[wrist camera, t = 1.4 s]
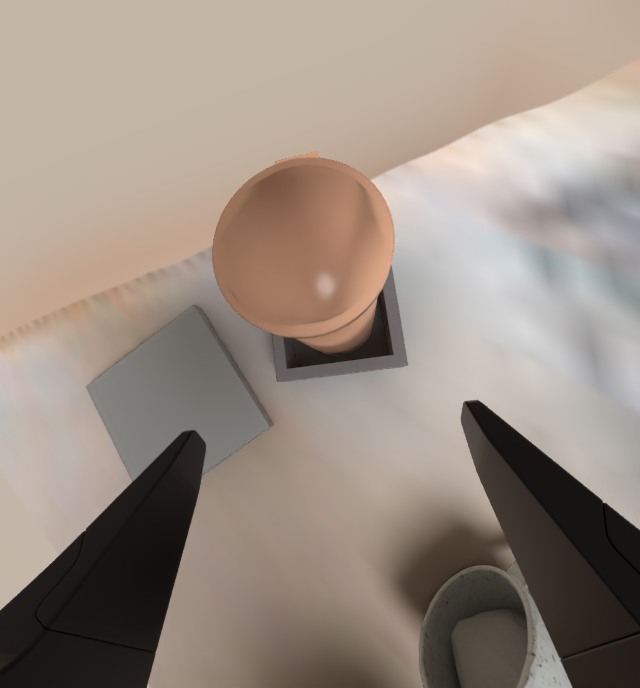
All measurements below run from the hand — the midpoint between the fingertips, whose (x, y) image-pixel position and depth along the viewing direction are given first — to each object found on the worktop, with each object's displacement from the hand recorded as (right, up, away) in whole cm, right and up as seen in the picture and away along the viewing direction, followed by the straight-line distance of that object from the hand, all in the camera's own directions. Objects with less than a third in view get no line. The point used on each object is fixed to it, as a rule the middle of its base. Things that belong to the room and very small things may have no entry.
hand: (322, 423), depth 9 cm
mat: (-12, -2, +15) cm, 19 cm away
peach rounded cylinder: (+1, +5, +13) cm, 14 cm away
